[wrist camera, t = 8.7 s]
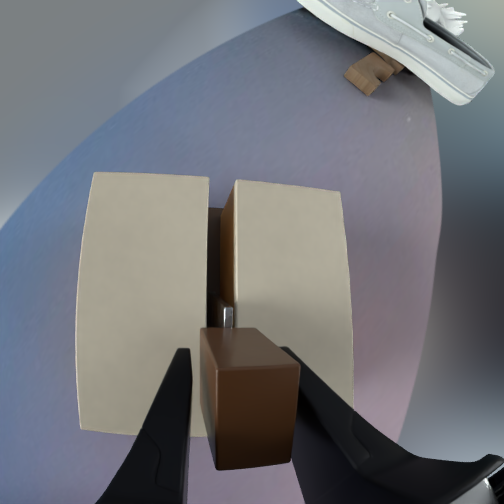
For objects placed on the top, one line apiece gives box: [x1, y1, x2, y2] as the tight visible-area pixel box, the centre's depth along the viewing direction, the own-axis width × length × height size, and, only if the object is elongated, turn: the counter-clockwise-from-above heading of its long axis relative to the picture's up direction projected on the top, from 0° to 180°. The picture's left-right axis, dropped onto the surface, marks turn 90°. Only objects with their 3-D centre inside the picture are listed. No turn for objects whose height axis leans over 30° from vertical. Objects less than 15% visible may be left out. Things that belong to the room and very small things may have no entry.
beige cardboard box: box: [76, 172, 353, 437], centre depth 15 cm, size 12×12×5 cm
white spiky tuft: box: [426, 0, 468, 36], centre depth 26 cm, size 11×12×8 cm
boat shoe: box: [297, 0, 495, 105], centre depth 23 cm, size 25×9×8 cm, turn 65°
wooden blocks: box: [344, 46, 405, 96], centre depth 29 cm, size 30×3×7 cm
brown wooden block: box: [200, 292, 301, 471], centre depth 11 cm, size 4×2×9 cm, turn 1°
